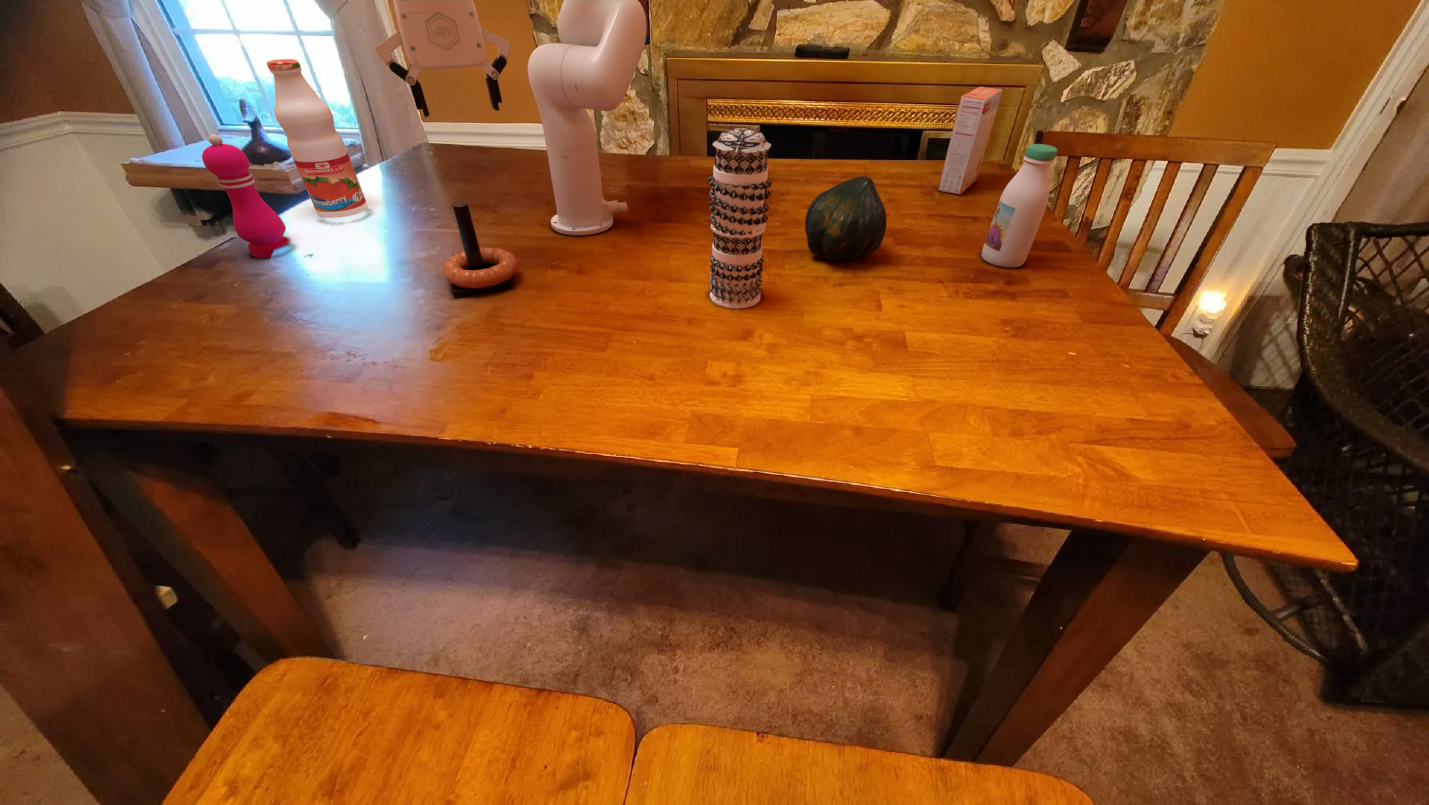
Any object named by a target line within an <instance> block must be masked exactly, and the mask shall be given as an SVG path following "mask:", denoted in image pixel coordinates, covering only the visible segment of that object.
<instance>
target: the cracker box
mask: <svg viewBox="0 0 1429 805" xmlns="http://www.w3.org/2000/svg"><path fill="white" fill-rule="evenodd" d="M1002 93H1003V89H1001V88H994V87H987V86H978V87H976V88H974V89H973V90H970V91H969V92H967V93H965V94H963V95H961V96H960V100H959V103H958V108H957V111H956V115H955V120H954V123H953V128H952V131H951V136H950V139H949V140H950V141H949V144H948V148H947V152H946V156H945V160H944V163H943V167H942V172H941V178H940V181H939V184H938V189H937V191H938V192H941V193H947V194H952V195H957V196H961V195H962V194H964V193H965V191H967V190H968V189H969V188H970V187H971V186H972V185H973V184H974V183H975V182H976V181H977V179H978V176H979V172H980V170H981V166H982V162H983V159H984V155H985V153H986V149H987V145H988V142H989V138H990V135H991V132H992V127H993V124H994V120H995V117H996V114H997V111H998V107H999V104H1000V100H1001V96H1002Z"/></svg>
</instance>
